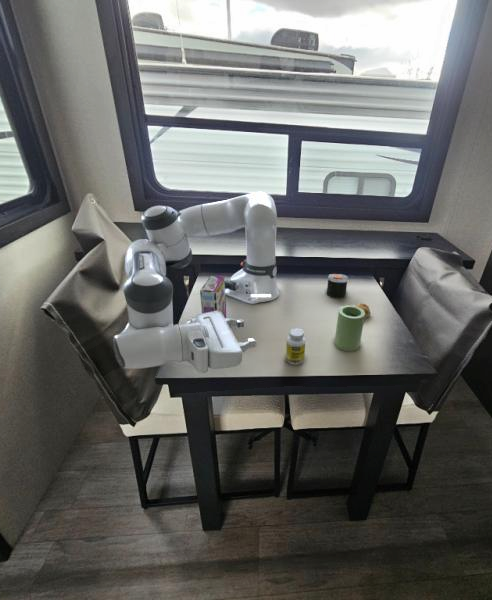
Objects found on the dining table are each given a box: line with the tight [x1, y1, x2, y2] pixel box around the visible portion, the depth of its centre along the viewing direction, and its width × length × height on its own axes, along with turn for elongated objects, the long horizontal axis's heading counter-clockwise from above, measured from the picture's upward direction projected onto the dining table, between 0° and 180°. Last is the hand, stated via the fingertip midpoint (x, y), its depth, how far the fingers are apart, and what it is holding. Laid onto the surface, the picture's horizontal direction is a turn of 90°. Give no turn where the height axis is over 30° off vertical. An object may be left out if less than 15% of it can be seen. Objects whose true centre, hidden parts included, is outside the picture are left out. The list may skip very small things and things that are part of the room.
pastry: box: [354, 302, 372, 318], centre depth 117 cm, size 9×7×4 cm
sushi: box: [326, 273, 349, 299], centre depth 131 cm, size 8×8×8 cm
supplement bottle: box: [285, 327, 306, 365], centre depth 91 cm, size 5×5×10 cm
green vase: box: [334, 304, 366, 352], centre depth 99 cm, size 8×8×12 cm
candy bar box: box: [199, 275, 228, 318], centre depth 102 cm, size 11×5×16 cm, turn 178°
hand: (248, 332), depth 81 cm, fingers open, 8 cm apart
